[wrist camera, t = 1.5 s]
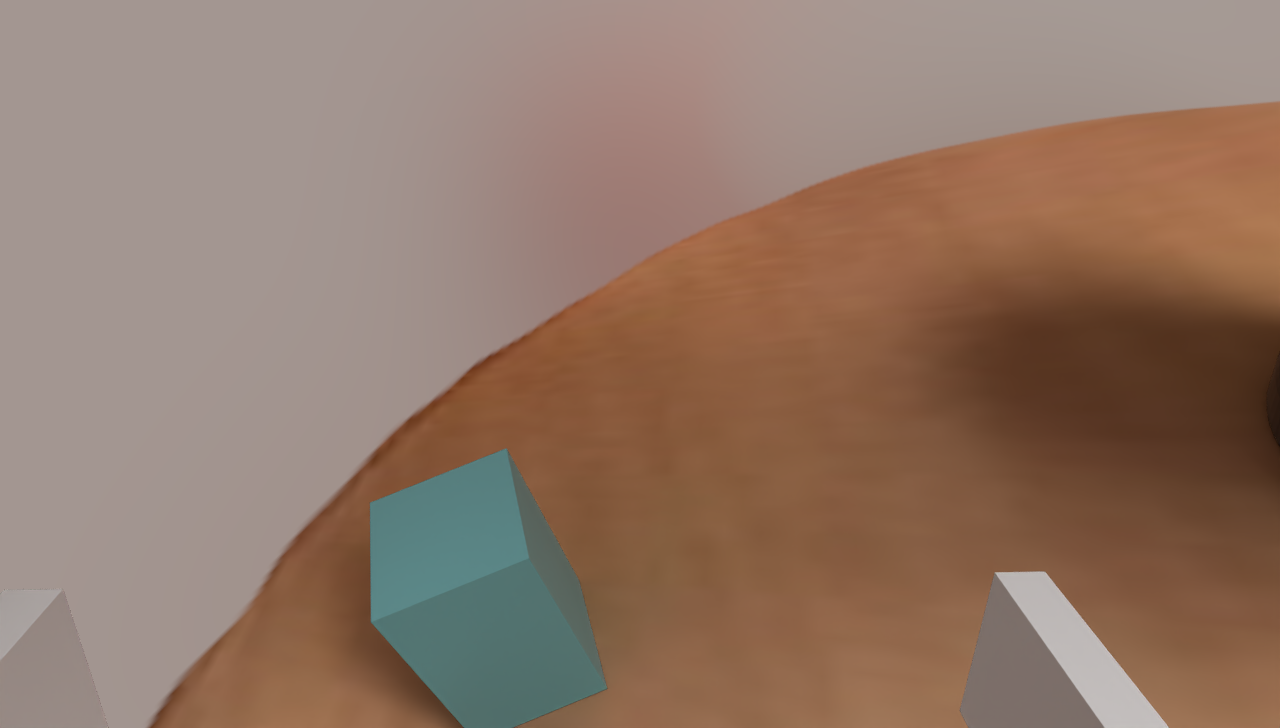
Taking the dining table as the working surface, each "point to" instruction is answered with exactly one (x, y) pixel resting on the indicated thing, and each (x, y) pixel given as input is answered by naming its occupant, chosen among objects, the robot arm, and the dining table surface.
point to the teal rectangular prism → (481, 596)
